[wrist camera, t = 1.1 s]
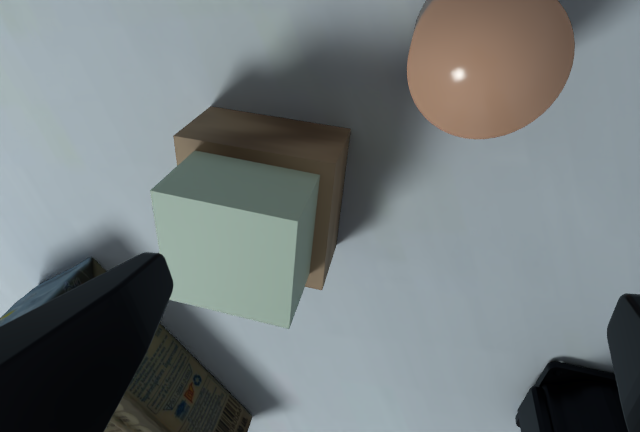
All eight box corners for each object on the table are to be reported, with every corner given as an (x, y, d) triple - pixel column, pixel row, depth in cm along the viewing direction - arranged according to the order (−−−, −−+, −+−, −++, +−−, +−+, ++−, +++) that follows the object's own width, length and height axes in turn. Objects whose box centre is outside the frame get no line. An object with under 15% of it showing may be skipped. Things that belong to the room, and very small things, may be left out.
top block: (320, 174, 18) (297, 221, 15) (309, 274, 21) (289, 328, 18) (194, 150, 18) (150, 190, 15) (202, 250, 21) (166, 299, 19)
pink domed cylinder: (564, -28, 15) (604, -13, 11) (518, 104, 18) (539, 149, 14) (427, -41, 16) (423, -32, 12) (403, 88, 19) (395, 127, 15)
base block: (351, 126, 20) (335, 164, 17) (337, 242, 24) (322, 290, 21) (213, 104, 21) (173, 136, 18) (221, 219, 25) (189, 261, 22)
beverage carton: (95, 248, 29) (19, 321, 24) (260, 414, 36) (230, 497, 31) (36, 281, 33) (-42, 350, 28) (196, 425, 40) (159, 502, 35)
